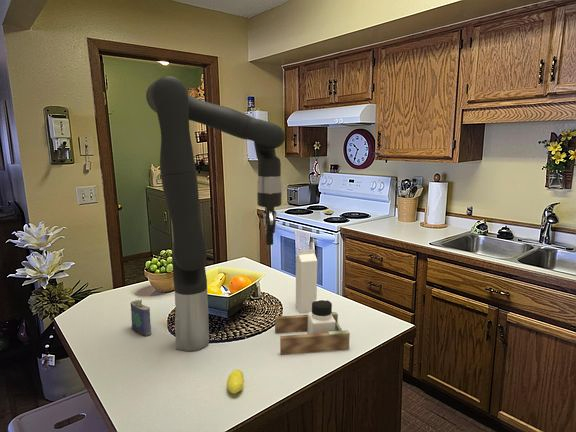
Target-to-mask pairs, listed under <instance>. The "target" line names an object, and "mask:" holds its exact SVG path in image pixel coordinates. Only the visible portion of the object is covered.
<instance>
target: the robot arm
mask: <svg viewBox="0 0 576 432" xmlns="http://www.w3.org/2000/svg"><path fill="white" fill-rule="evenodd" d="M145 94H146V95H145V97H146V98H145V99H146V102H147V105H148V106H149V108H150V109H151V110H153V112H155V113H156V114H157V119H158V123H159V128H160V129H159V130H160V152H159V173H160V179H161V185H162V190H163V196H164V200H165V203H166V206H167V209H168V212H169V216H170V219H171V224H172V232H173V234H172V235H173V242H172V245H171V260H172V262H171V263H172V275H173V276H172V277H173V286H174V287H173V289H174V305H175V307H174V308H175V316H174V329H175V349H176V350H181V351H185V352H194V351H199V350H202V349H204V348H206V347H208V345H209V344H210V329H209V328H210V327H209V307H208V306H209V303H208V302H209V301H208V300H209V297H208V279H207V278H208V277H207V274H206V261H207V256H208V249H207V246H206V242H205V238H204V235H203V229H202V226H201V225H202V223H201V220H200V218H201V217H200V201H199V200H200V198H199V197H200V196H199V195H200V194H199V186H198V177H197V168H196V164H195V158H194V157H195V156H194V151H193V145H192V139H191V134H190V132H191V131H190V121H192V122H196V123H198V124H202V125H204V126H207V127H209V128H212V129H214V130H217V131H220V132H222V133H224V134H228V135H230V136H233V137H236V138H239V139H241V140H246V141H247V140H248V141H253V142H254V143H253V144H254V150H255V155H256V159H257V181H256V182H257V183H256V185H257V186H256V187H257V188H256V189H257V190H256V191H257V192H256V194H257V195H256V197H257V199H256V200H257V206H258V207H262V208H264V210H262V216H263V225H264V232H265V244H266V245H267V246H272V245H274V234H275V232H276V223H277V219H276V218H277V211H276V210H275V208H278V207H280V206H282V190H283V189H282V179H281V177H282V176H281V175H282V171H281V170H282V168H281V167H282V166H281V164H282V163H281V160H280V158H279V157H278V156H277V154H276V149H278V148H279V147H282V145H283V144H284V143H285V141H286V133H285V131H284V130H283V128H282V127H281V126H280V125H278V124H276V123H274V122H272V121H271V122H270V121H267V120H263V119H259V118H255V117H253V116H250V115H249V114H247V113H244V112H242V111H239V110H238V109H237V110H236V109H235V108H234V109H233V108H230V107H228V106H224V105H220V104H215V103H212V102H208V101H205V100H201V99H199V98H197V97H194V96H192V95H190V94H189V93H188V89H187V87H186V86H185V84H184V83H183V82H182V81H181V79H179V78H178V77H175V76H171V75H163V76H161V77H159V78H157V79H156V80H155V81H153V82H152V83H151V84H150V85H149V86H148V88H147V90H146V93H145Z"/></svg>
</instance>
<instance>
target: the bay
mask: <svg viewBox="0 0 576 432" xmlns="http://www.w3.org/2000/svg"><path fill="white" fill-rule="evenodd" d="M332 316H333V318H334V319H335V321H336V331H330V332H328V333H315V334H308V314H296V315H295V314H294V315H279V316H274V333H275V334H276V335H277V334H278V335H279V334H287V335H280V336H279V338H280V340H279V345H280V346H279V348H280V349H279V351H280V356H286V355H297V354H310V353H320V352H321V353H322V352H323V353H324V352H337V351H347V350H350V335H351V334H350V331H349V330H348V329H347V330H343V329H342V327H341V326H340V324H339V322H338V319H339V314H338V312H337V311H332ZM305 332H307V333H306V334H305ZM290 333H291V334H290ZM293 333H301V334H293ZM302 333H303V334H302ZM288 334H290V335H288Z"/></svg>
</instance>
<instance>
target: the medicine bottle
mask: <svg viewBox="0 0 576 432" xmlns="http://www.w3.org/2000/svg"><path fill="white" fill-rule="evenodd" d="M332 312H333V304H332V302H331V301H330V300H328V299H323V298H321V299H320V298H319V299H317V300H315V301H313V302H312V312H307V315H308V331H307V334H315V333H328V332H330V331H336V321H335V319H334V318H333V316H332Z"/></svg>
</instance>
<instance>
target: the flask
mask: <svg viewBox="0 0 576 432" xmlns="http://www.w3.org/2000/svg"><path fill="white" fill-rule="evenodd" d="M142 302H143V300H142V298H141V299H140V300H139V299H135V300H133V301H131V302H130V311H131V312H130V314H131V316H130V317H131V330H132V331H133V332H134V333H136V334H139V335H141V336H143V337H149V336H151V335H152V325H151V314H150V313H151V308H150V307H149V306H147V305H145V304H143V303H142Z"/></svg>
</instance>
